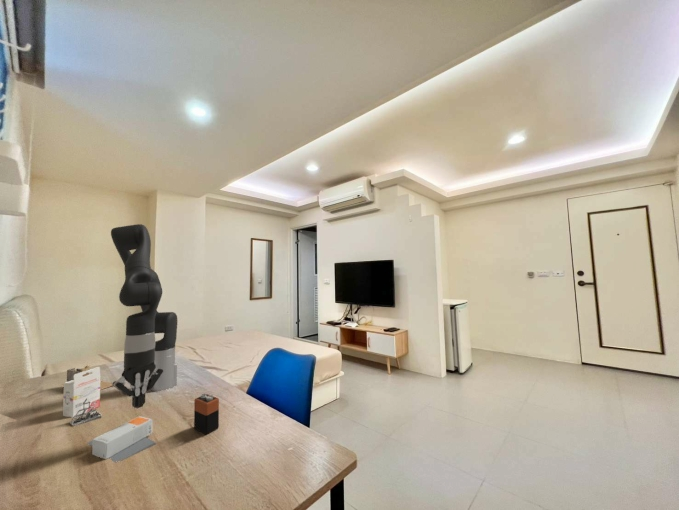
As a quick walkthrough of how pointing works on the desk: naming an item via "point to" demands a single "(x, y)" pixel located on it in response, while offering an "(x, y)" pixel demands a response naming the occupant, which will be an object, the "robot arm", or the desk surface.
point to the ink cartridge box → (81, 392)
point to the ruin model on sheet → (72, 371)
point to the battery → (206, 413)
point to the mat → (131, 449)
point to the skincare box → (121, 437)
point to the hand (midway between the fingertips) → (138, 407)
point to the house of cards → (87, 417)
